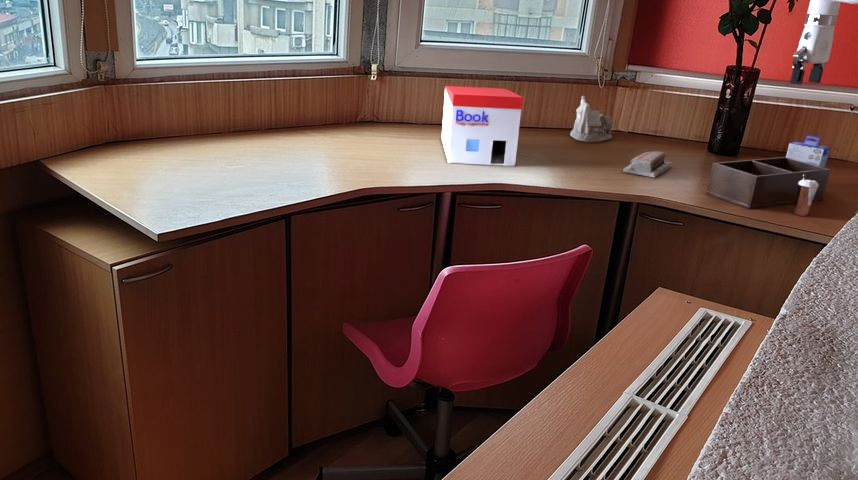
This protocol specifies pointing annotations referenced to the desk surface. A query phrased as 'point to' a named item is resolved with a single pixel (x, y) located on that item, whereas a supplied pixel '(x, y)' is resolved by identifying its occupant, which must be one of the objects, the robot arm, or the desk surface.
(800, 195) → the milkshake
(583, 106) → the ceramic cottage
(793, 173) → the divided storage box
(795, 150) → the ink cartridge box
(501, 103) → the bookstore
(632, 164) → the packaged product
